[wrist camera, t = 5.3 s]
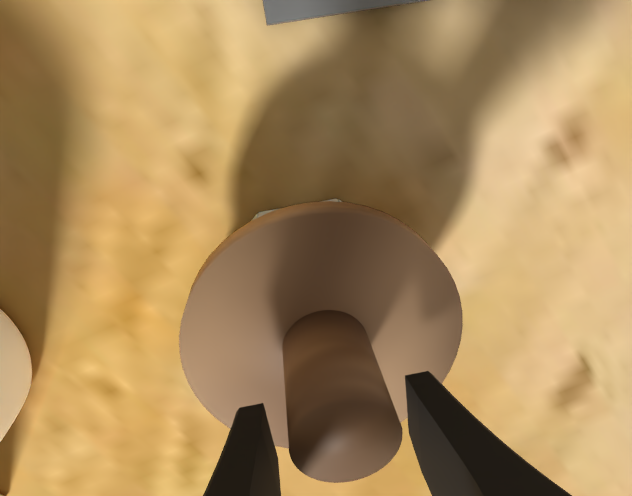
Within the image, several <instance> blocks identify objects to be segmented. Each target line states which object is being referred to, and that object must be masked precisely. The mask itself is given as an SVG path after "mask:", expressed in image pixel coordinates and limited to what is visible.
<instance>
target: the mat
mask: <svg viewBox="0 0 632 496" xmlns="http://www.w3.org/2000/svg"><path fill="white" fill-rule="evenodd" d="M421 1H428V0H263V5H264V11H265V17H266V23H267V25H274V24H280V23H287V22H293V21H299V20H306V19H312V18H319V17H325V16H332V15H338V14H344V13H351V12H357V11H364V10H370V9H376V8H383V7H389V6H396V5H402V4H409V3H415V2H421Z"/></svg>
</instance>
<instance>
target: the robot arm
mask: <svg viewBox="0 0 632 496" xmlns="http://www.w3.org/2000/svg"><path fill="white" fill-rule="evenodd" d="M405 385H406V399H407V413H408V427H409V434H410V437H411V441H412V444H413V447H414V450H415V453H416V456H417V459H418V462H419V465H420V468H421V471H422V473H423V476H424V478H425V480H426V483H427V485H428V487H429V489H430V492H431V494H432V496H572V495H570V494H569V493H568V492H566V491H565V490H563V489H562V488H561V487H559V486H558V485H557V484H555V483H554V482H552V481H551V480H550V479H548V478H547V477H546V476H544V475H543V474H542V473H540V472H539V471H538V470H537V469H535V468H534V467H533V466H531V465H530V464H529V463H528V462H526V461H525V460H524V459H523V458H522V457H520V456H519V455H518V454H517V453H515V452H514V451H513V450H512V449H511V448H509V447H508V446H507V445H506V444H505V443H503V442H502V441H501V440H500V439H499V438H498V437H496V436H495V435H494V434H493V433H492V432H491V431H490V430H489V429H488V428H487V427H485V426H484V425H483V424H482V423H481V422H480V421H479V420H478V419H477V418H475V417H474V416H473V415H472V414H471V413H470V412H469V411H468V410H467V409H466V408H465V407H464V406H463V405H462V404H461V403H460V402H459V401H458V400H457V399H456V398H455V397H454V396H453V395H452V394H451V393H450V392H449V391H448V390H447V389H446V388H445V387H444V386H443V385H442V384H441V383H440V382H439V381H438V380H437V379H436V378H435V376H434V375H433V374H432V373H430V372H429V371H425V372H420V373H415V374H410V375H405ZM203 496H281V491H280V478H279V466H278V457H277V453H276V449H275V446H274V442H273V438H272V434H271V430H270V426H269V423H268V419H267V415H266V411H265V407H264V404H263V403H261V404H256V405H250V406H245V407H240V408H239V409H238V410H237V412H236V414H235V418H234V421H233V424H232V427H231V430H230V432H229V435H228V438H227V441H226V443H225V446H224V448H223V451H222V453H221V456H220V458H219V461H218V463H217V465H216V468H215V470H214V472H213V475H212V477H211V479H210V482H209V484H208V486H207V488H206V491H205V493H204V495H203Z"/></svg>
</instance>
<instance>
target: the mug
mask: <svg viewBox="0 0 632 496" xmlns="http://www.w3.org/2000/svg"><path fill="white" fill-rule="evenodd" d="M31 380H32V364H31V358H30V353H29V350H28V347H27V345H26V342H25V340H24V338H23V336H22V335H21V333H20V331H19V330H18V328H17V327H16V326H15V324H14V323H13V322H12V321H11V319H10V318H9V317H8V316H7V315H6V314H5V313H4V312H3V311H2V310H1V309H0V442H1V440H2V439H3V437H4V436H5V434H6V433H7V431H8V430H9V428H10V427H11V425H12V424H13V422H14V421H15V419H16V417H17V415H18V414H19V412H20V410H21V408H22V406H23V405H24V403H25V401H26V398H27V396H28V393H29V390H30V387H31Z"/></svg>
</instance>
